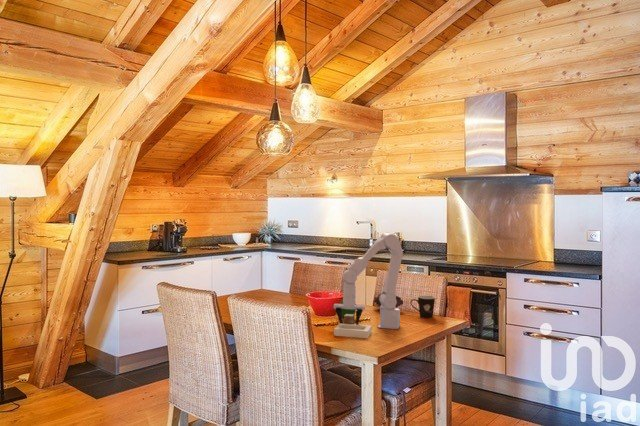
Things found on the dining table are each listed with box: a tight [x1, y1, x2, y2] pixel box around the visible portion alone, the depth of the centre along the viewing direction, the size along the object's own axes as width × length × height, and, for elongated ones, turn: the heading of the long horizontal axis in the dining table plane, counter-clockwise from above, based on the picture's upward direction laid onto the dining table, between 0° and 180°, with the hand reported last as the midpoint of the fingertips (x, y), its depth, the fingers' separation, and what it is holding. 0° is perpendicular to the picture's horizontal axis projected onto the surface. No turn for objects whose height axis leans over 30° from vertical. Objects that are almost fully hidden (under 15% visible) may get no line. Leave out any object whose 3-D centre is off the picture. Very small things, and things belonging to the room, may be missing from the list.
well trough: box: [333, 322, 373, 339], centre depth 236 cm, size 15×10×3 cm, turn 75°
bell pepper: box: [339, 300, 357, 318], centre depth 267 cm, size 8×8×10 cm
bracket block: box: [343, 314, 355, 324], centre depth 246 cm, size 4×4×6 cm
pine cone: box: [372, 292, 404, 308], centre depth 283 cm, size 18×10×10 cm, turn 57°
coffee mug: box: [410, 295, 436, 319], centre depth 269 cm, size 12×9×10 cm
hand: (349, 324), depth 246 cm, fingers open, 7 cm apart
